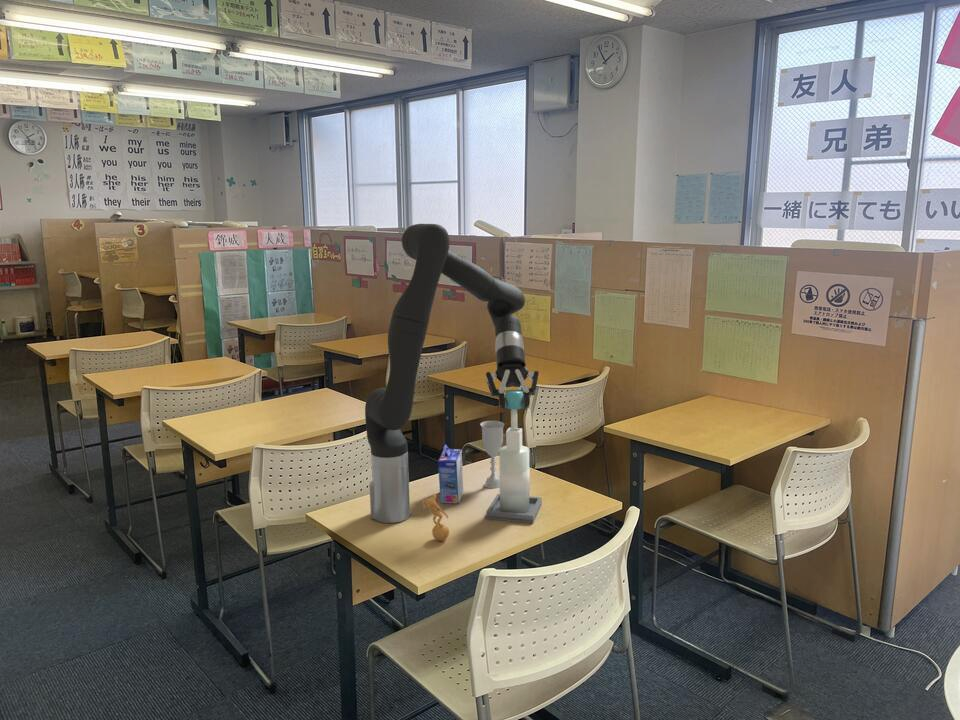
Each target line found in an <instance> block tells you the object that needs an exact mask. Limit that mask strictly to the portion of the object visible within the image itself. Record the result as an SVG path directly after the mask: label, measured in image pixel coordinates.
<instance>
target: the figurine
mask: <svg viewBox="0 0 960 720" xmlns="http://www.w3.org/2000/svg"><path fill="white" fill-rule="evenodd" d="M436 499H437V495H436V494H435V493H433V494H432V495H431V496H430V497H428V498H426V499H423V500H422V501H421V503H422V508H423V509H429V512H430V514H432V515H433V517H432V520H433V523H434V524H435V525H434V526H433V528H432V531H431V533H432V537H433V538H434V539H435V540H436V541H438V542H439V541H440V542H441V541H446V540H447V538H448V537H449V535H450V529H449V527H448V526H447V525H446V524H445V523H440V522H441V520H442V518H443V515H444V516H445V517H446V519H449V516H448V514H447V513H446V512H445V511H444V510H443V508H441V507H440V505H439V504H438V503H437V501H436ZM437 509H438V510H437ZM437 517H438V519H437ZM436 519H437V520H436Z"/></svg>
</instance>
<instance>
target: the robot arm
mask: <svg viewBox="0 0 960 720" xmlns="http://www.w3.org/2000/svg"><path fill="white" fill-rule="evenodd" d="M450 242H451V241H450V236H449V233H448V231H447V229H446V227H444V226H442V225H441V224H437V223H416V224H412V225H410V226H408V227H407V228H406V229H405V230H404V232H403V233H402V237H401V245H402V248H403V251H404V253H405V254H406V255H407V256H408V257H409V258H411V259H413V260H414V261H415V266H414V268H413V274H412V276H411V279H410V280H409V283H408V285H407V286H406V288H405V290H404V291H403V292H402V294H401V295H400V297H399V299H398V300H397V301H396V304H395V306H394V307H393V310H392V313H391V317H390V321H389V327H388V332H387V349H388V357H389V375H388V379H387V384H386V387H379V388H375V389H373V390H372V392H370V393H369V395H368V396H367V399H366V401H365V407H364V415H365V416H364V418H365V428H366V438H367V442H368V444H369V447H370V456H371V458H370V459H371V460H370V461H371V479H372V481H370V482H369V487H368V488H369V505H370V519H371V520H375V521H377V522H379V523H384V524H395V523H401V522H404V521H406V520H407V519H408V518H410V516H411V504H410V501H411V500H410V475H409V473H410V471H409V451H408V447H409V446H408V445H409V444H408V440H407V439H406V437H405V436H404V434H403V432H402V430H401V428H403V427H405V426H406V425H407V424H408V422H409V420H410V417H411V416H412V415H411V414H412V411H413V407H414V399H415V398H414V397H415V389H416V382H417V377H418V376H417V374H418V370H419V366H420V361H421V356H422V352H423V347H424V343H425V341H426V340H425V339H426V335H427V331H428V327H429V324H430V323H429V322H430V317H431V312H432V308H433V304H434V301H435V298H436V297H435V296H436V291H437V287H438V284H439V281H440V278H441V275H444V276H446V277H447V278H449V279H450V280H451V281H453V282H454V283H456V284H458V285H459V286H460V287H462V288H463V289H464V290H465V291H467V292H468V293H470V294H471V295H472V296H473V297H475V298H477V299H478V300H480V301H481V302H487V305H486V308H487V312H488V314H489V315H490V318H491V319H490V320H491V321H492V323H493V326H494V333H495V336H494V337H495V344H494V346H495V351H494V352H495V360H496V361H495V362H496V363H495V364H496V370H495V372H492V373H491V372H490V371H487V372H485V381H486V383H487V387H488V390H489V392H490V395H491V396H492V397H497V398H498V406H499V409H501V410H502V411H506V407H505V391H506V389H507V388H511V387H513V388H514V387H515V388H518V390H522V391H523V410H524V411H527V410H528V408H529V407H530V400H531V399H530V396H535V394H536V391H537V386H538V385H537V384H538V380H539V379H538V378H539V371H538V370H535V371H529V369H528V368H527V363H526V354H525V346H524V345H525V344H524V340H523V335H522V334H523V333H522V324H521V321H520V319H519V318H518V317H517V316H515V315H514V314H515V313H517V312H519V311H520V310H522V309H523V308H524V306H525V304H526V297H525V296H524V292H523V291H522V290H521V289H520V288H518V287H517V286H516V285H514V284H511V283H509V282H506V281H503V280H501V279H498V278H495V277H494V276H492V275H491V274H490V273H489V272H487V271H486V270H485V269H483V268H482V267H481V266H478V265H477V264H475V263H473V262H471V261H470V260H468V259H465V258H463V257H461V256H459V255H458V254H456V253H454V252H452V251H450ZM527 378H529V380H530V382H531V386H530V387H529V388H528V386H527V382H526V381H525V380H526V379H527ZM496 379H497V380H498V381H499V382H500V386H499V388H498V389H497V388H496V384H495V380H496Z"/></svg>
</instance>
